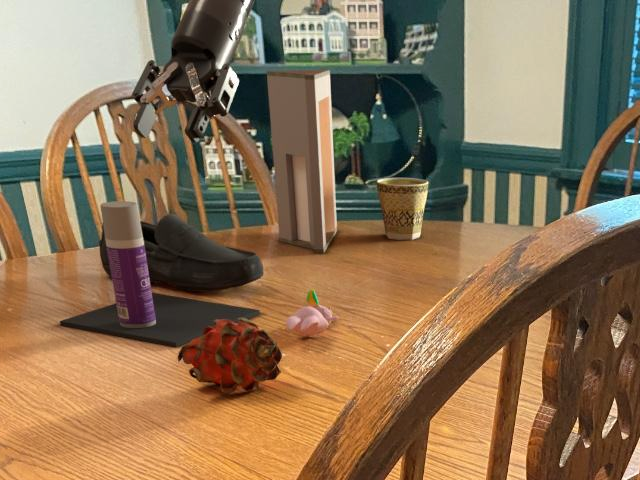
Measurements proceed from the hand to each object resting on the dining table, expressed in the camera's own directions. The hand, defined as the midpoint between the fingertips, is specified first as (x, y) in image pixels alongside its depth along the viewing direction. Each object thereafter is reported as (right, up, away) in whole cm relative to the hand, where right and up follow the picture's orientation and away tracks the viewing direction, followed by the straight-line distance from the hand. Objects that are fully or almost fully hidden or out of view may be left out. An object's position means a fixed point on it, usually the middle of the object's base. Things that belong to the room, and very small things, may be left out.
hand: (165, 135), depth 118 cm
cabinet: (+10, +8, +55) cm, 56 cm away
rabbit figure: (+19, -25, +3) cm, 32 cm away
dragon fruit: (+13, -37, -15) cm, 42 cm away
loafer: (-5, -11, +25) cm, 28 cm away
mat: (-3, -22, +8) cm, 23 cm away
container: (-5, -24, +4) cm, 24 cm away
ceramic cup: (+29, +11, +61) cm, 69 cm away
